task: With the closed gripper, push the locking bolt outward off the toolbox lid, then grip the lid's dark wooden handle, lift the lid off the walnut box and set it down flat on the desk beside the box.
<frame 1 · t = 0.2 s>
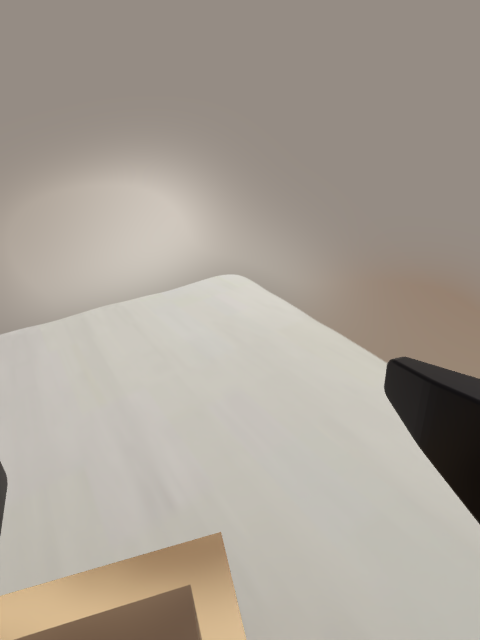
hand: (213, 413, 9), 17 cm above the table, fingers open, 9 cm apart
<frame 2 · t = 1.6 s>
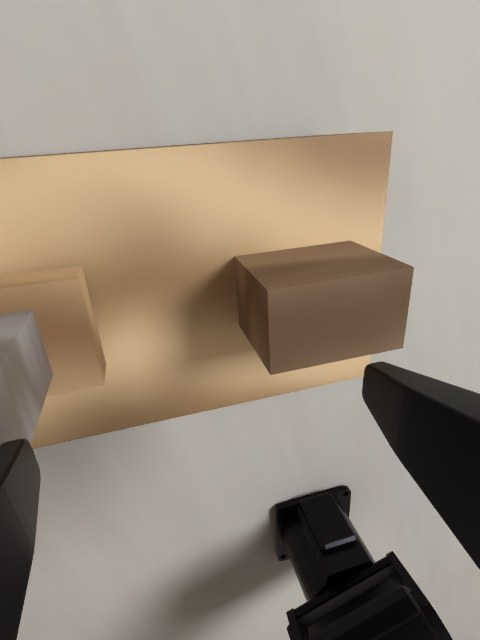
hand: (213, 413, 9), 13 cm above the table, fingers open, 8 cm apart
toolbox: (181, 258, 21), on the table
lid: (196, 289, 16), point 5 cm above the table, touching toolbox
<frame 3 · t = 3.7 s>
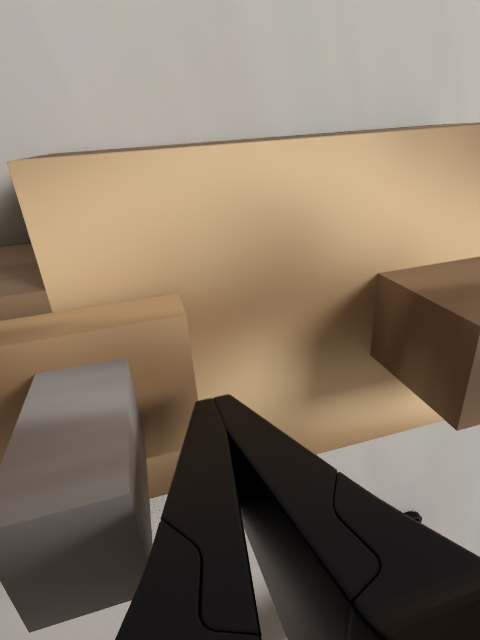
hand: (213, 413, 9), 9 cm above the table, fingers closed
locking bolt: (40, 453, 8), point 9 cm above the table, slide at 0.8 cm, touching gripper
toolbox: (270, 269, 18), on the table
lid: (318, 312, 13), point 5 cm above the table, touching toolbox
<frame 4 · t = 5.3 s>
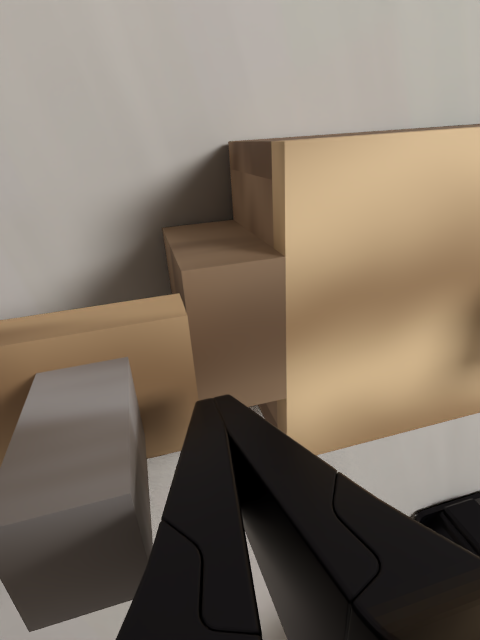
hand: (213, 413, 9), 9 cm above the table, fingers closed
locking bolt: (40, 453, 8), point 9 cm above the table, slide at 7.2 cm, touching gripper
toolbox: (392, 252, 19), on the table
lid: (473, 285, 15), point 5 cm above the table, touching toolbox
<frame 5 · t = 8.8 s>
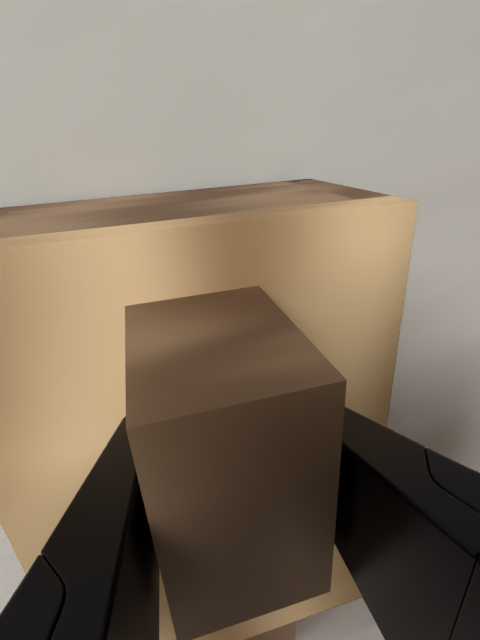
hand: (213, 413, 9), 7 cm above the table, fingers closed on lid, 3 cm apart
toolbox: (188, 385, 17), on the table
lid: (211, 473, 12), point 5 cm above the table, touching gripper, toolbox
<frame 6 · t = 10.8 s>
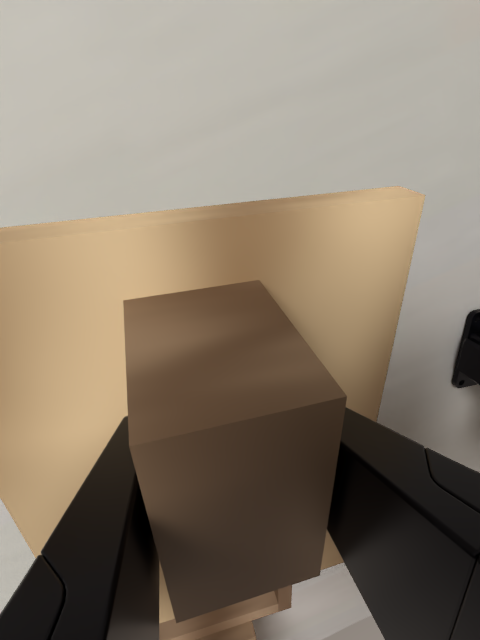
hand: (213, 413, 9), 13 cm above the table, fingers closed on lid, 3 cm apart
toolbox: (195, 493, 28), on the table
lid: (207, 453, 13), point 11 cm above the table, tilted 6°, touching gripper
when the fingers open (4 cm above the table, at t = 13.0 s): lid drops 2 cm, on the table.
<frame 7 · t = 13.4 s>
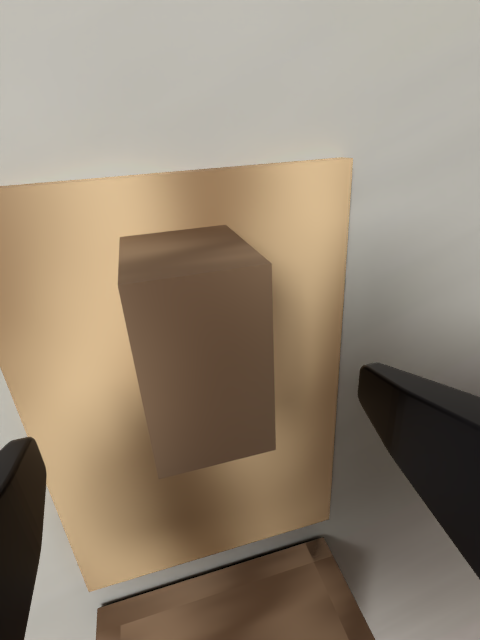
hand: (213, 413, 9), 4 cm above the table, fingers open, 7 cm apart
lid: (193, 395, 15), on the table
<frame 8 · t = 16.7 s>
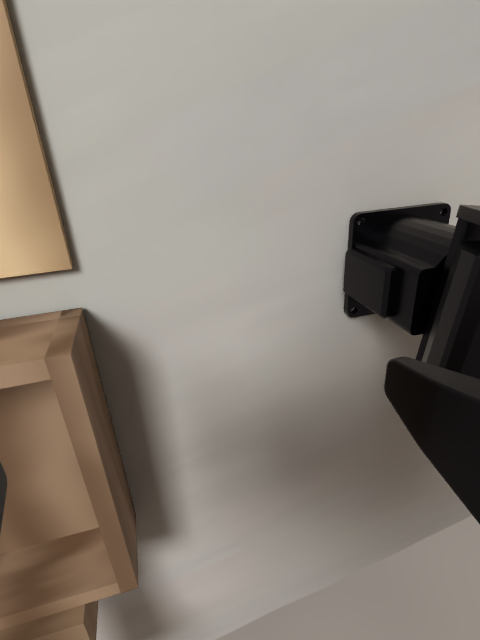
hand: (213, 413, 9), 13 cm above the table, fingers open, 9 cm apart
toolbox: (15, 448, 22), on the table
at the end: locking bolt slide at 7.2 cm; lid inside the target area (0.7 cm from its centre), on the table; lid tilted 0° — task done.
